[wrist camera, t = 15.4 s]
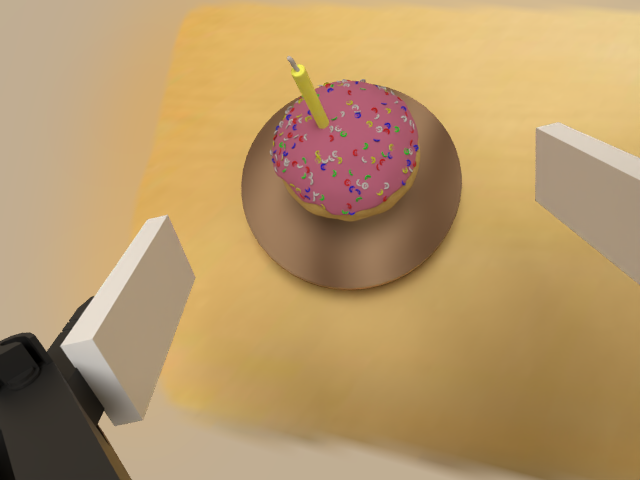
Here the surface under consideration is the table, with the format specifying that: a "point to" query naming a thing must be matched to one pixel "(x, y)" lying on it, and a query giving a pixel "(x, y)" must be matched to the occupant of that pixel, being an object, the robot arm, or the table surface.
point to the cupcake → (346, 148)
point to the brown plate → (361, 235)
